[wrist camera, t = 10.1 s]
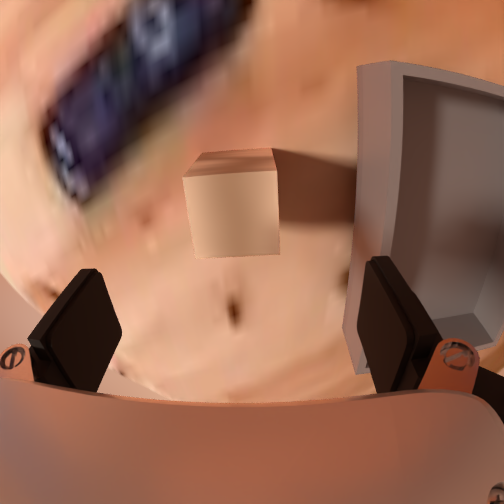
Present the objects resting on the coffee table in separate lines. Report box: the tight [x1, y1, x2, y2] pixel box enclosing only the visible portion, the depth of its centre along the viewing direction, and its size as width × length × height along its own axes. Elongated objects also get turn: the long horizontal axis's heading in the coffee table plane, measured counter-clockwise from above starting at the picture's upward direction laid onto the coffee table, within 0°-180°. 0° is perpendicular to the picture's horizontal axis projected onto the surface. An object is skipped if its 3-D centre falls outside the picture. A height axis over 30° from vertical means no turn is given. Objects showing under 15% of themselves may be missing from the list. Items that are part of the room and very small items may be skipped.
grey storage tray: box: [342, 61, 504, 375], centre depth 18 cm, size 13×19×7 cm
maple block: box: [183, 148, 280, 259], centre depth 18 cm, size 4×4×6 cm
